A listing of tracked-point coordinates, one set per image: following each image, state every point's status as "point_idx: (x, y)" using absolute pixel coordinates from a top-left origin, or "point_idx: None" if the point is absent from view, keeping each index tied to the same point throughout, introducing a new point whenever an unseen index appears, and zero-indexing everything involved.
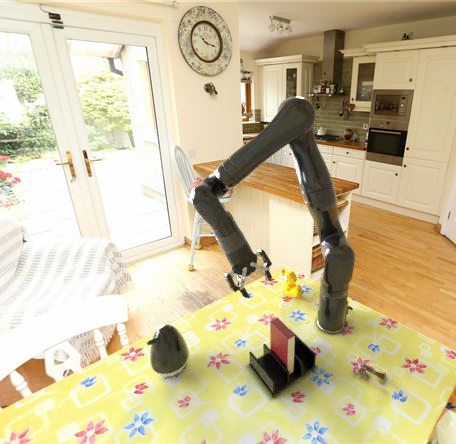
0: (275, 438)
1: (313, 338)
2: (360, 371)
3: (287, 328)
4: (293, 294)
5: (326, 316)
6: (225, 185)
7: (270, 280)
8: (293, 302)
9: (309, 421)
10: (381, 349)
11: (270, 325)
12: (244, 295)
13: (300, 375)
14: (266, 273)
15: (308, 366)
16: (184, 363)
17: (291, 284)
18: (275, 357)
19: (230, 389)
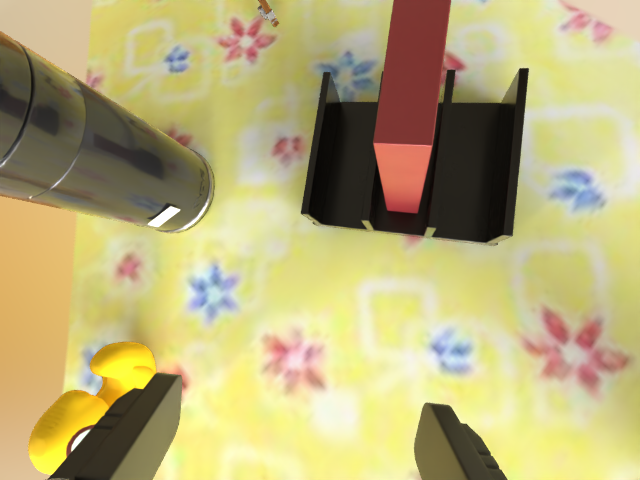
0: (584, 14)
1: (256, 185)
2: (268, 5)
3: (395, 39)
4: (144, 365)
5: (169, 154)
6: None
7: (170, 375)
8: (174, 351)
9: (472, 2)
10: (171, 45)
11: (430, 155)
12: (478, 450)
13: None
14: (116, 455)
15: (351, 110)
16: None
17: (104, 401)
18: (443, 146)
19: (608, 216)
